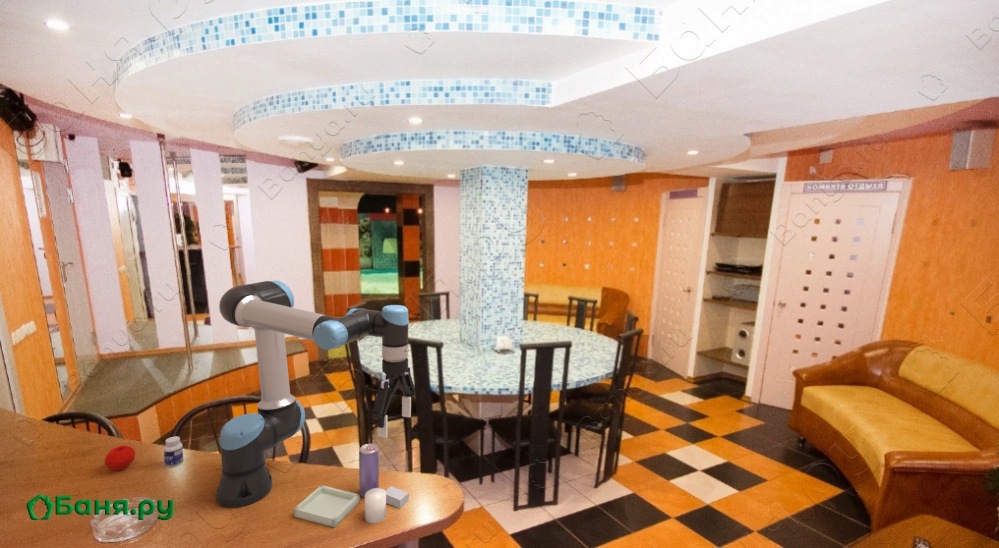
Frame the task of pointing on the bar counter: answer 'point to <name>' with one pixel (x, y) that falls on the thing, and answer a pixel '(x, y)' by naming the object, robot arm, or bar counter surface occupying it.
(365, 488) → the beverage can
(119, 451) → the apple
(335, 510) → the tray
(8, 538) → the bar counter surface
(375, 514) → the white rounded capsule
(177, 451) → the pill bottle
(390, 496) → the pale rectangular cuboid
